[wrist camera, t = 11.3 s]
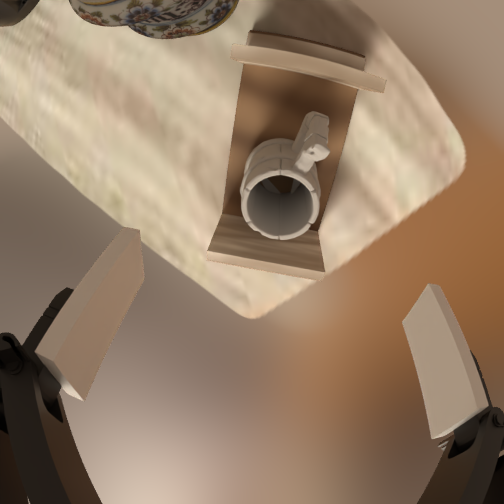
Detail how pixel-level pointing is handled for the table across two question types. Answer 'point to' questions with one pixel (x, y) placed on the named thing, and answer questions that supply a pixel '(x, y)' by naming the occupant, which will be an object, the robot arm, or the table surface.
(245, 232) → the shelf
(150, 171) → the table surface
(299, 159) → the mug
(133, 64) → the table surface
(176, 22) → the apothecary jar
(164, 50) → the table surface
